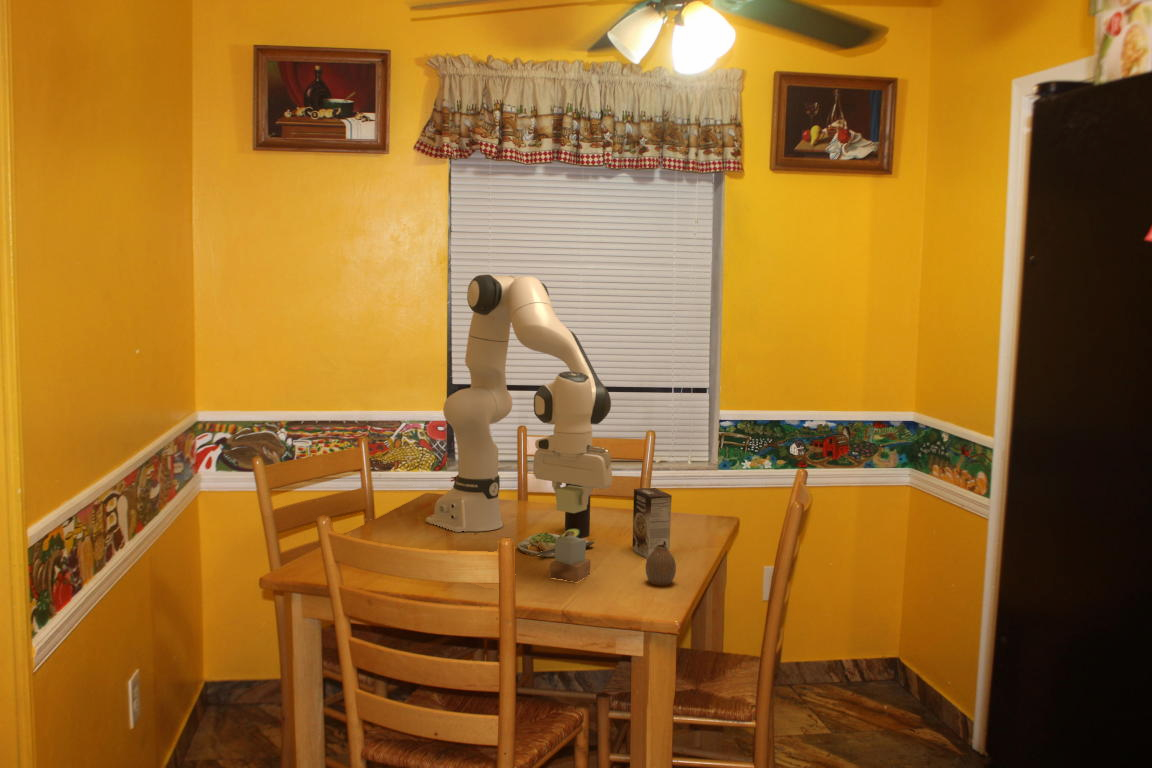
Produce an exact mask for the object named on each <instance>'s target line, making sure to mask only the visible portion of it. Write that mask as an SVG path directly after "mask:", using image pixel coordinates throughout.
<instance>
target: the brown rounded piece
mask: <svg viewBox="0 0 1152 768" xmlns="http://www.w3.org/2000/svg"><path fill="white" fill-rule="evenodd" d="M676 572H677V565H676V560H675V558H674V556H673V554H672V553H671V552H670V549H669V550H668V548H667V546H666V545H661V544H660V545H656V547H655V549H654V550H653V552H652V553H651V554H650V555H649V557H648V559H646V562H645V574H646V578H647V579H648V581H649V582H650V583H651V584H652V585H653V586H658V587H666V586H668V585H670V584H671V583H672V582H673V581H674V578H675V577H676Z"/></svg>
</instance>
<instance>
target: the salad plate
mask: <svg viewBox="0 0 1152 768" xmlns="http://www.w3.org/2000/svg"><path fill="white" fill-rule="evenodd" d="M566 536H573V537H577V538H581V539H585V540H586V549H587V548H589V547H590V546H592V545H593V544H595V541H588V539H586V538H584V537H582V534H581V531H580V530H579V529H569V530H567V531H565V530H564V531H563V533H562V534H561V535H560V534H553V533H548V532H544V531H543V532H541V533H537V534H533V535H531V536H529V537H527V538H526V539H524V540H523V541H520V542H519V543H518V544H517V548H518V549H519V550H520V551H521V552H522V553H524V552H525V554H526V553H528V554H527V555H529V554H533V555H532V556H535V555H540V556H539V557H542V556H545V557H544V558H555V540H556V539H559V538H563V537H566ZM529 545H531V546H534V547H536V546H537V548H539V549H540V550H541V551H542V552H541V551H536V550H530V549H529V548H528V546H529ZM528 549H529V550H528Z"/></svg>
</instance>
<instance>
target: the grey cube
mask: <svg viewBox="0 0 1152 768" xmlns="http://www.w3.org/2000/svg"><path fill="white" fill-rule="evenodd" d="M585 539H586V538H583V539H581V538H577V537H573V536H566V537H563V538H559V539H556V540H555V557H554V561H557V562H561V563H565V564H568V565H574V564H577V563H580V562H583V561H585V559H586V549H587V548H586V540H587V539H586V540H585Z"/></svg>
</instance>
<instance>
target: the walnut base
mask: <svg viewBox="0 0 1152 768" xmlns="http://www.w3.org/2000/svg"><path fill="white" fill-rule="evenodd" d="M588 575H590V576H591V559H589V558H588V559H587V558H585V561H583V562H580V563H577V564H574V565H568V564H565V563H561V562H557V561H555V560H553V561H551V562H550V564H549V579H550V578H556V579H563V580H567V581H573V582H578V581H580V580H582V579H583V578H585V577H587V576H588ZM588 577H589V576H588ZM588 577H587V578H588ZM585 579H586V578H585ZM582 581H583V580H582Z"/></svg>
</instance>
